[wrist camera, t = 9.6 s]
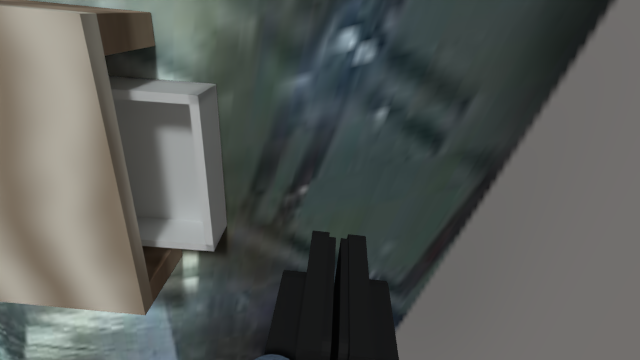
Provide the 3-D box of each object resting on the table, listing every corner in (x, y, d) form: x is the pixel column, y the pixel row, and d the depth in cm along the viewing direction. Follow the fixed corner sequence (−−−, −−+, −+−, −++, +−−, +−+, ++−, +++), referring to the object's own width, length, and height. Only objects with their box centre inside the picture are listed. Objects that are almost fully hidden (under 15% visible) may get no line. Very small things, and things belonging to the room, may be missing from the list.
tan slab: (150, 12, 21) (79, 13, 15) (182, 255, 31) (145, 315, 25) (-37, -6, 21) (-180, -12, 15) (51, 243, 30) (-18, 299, 25)
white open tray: (216, 83, 23) (197, 95, 20) (227, 225, 29) (213, 251, 26) (18, 69, 23) (-31, 78, 20) (66, 212, 29) (34, 237, 26)
